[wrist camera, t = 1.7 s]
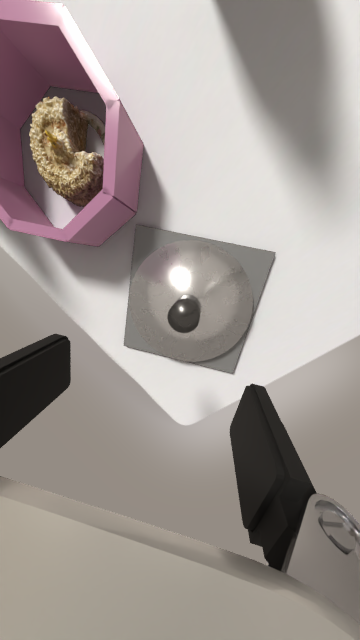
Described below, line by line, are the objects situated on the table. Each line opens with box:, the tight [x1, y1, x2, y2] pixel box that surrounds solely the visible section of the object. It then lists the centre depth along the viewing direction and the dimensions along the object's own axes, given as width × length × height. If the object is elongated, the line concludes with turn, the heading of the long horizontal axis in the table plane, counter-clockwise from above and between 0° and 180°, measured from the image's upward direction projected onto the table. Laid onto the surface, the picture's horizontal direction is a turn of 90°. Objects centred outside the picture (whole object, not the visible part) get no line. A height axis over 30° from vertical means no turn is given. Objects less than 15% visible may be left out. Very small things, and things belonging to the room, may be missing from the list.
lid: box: [129, 240, 253, 362], centre depth 22 cm, size 17×17×6 cm
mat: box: [124, 225, 276, 373], centre depth 25 cm, size 18×18×1 cm
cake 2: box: [29, 96, 105, 207], centre depth 20 cm, size 10×10×5 cm
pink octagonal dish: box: [0, 0, 144, 247], centre depth 20 cm, size 17×17×6 cm
